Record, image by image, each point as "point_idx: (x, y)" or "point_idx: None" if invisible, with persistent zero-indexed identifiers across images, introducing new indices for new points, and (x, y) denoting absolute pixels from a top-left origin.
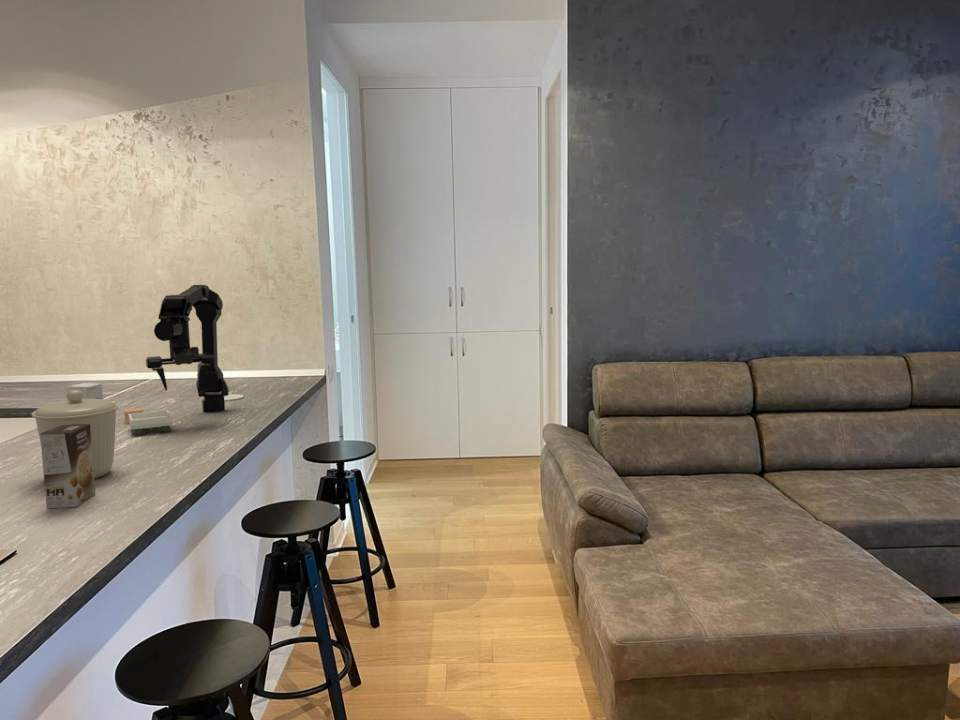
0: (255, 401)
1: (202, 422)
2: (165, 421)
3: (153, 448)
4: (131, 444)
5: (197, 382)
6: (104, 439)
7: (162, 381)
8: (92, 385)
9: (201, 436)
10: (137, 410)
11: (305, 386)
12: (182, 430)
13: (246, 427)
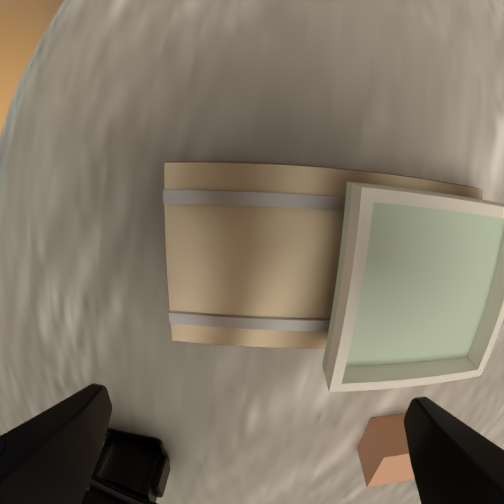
0: None
1: (175, 322)
2: (390, 187)
3: (424, 16)
4: (484, 137)
5: (97, 442)
6: None
7: (493, 443)
8: None
9: (216, 96)
10: (395, 461)
11: None
12: (288, 198)
13: (33, 184)
